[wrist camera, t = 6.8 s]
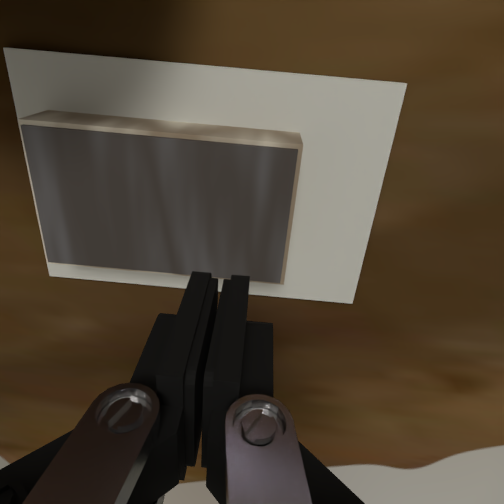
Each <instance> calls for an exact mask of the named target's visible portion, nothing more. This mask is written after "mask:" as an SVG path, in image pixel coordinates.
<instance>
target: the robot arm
mask: <svg viewBox="0 0 504 504" xmlns="http://www.w3.org/2000/svg"><path fill="white" fill-rule="evenodd" d="M249 283H250V276H242V275H231V279H224V280H223V285H222V290H221V295H220V299H219V304H218V309H217V302H218V278H212V274H211V273H209V272H197V271H192V273H191V276H190V279H189V282H188V284H187V287H186V290H185V293H184V296H183V299H182V302H181V304H180V307H179V310H178V313H177V315H174V314H163V313H160V314H159V315H158V317H157V319H156V321H155V324H154V326H153V328H152V331H151V333H150V335H149V338H148V340H147V343H146V345H145V347H144V350H143V352H142V355H141V357H140V359H139V362H138V364H137V366H136V369H135V371H134V374H133V376H132V378H131V381H130V383H125V384H119V385H116V386H114V387H111V388H109V389H107V390H106V391H104V392H103V393H101V394H100V395H99V396H98V397H97V398H96V399H95V400H94V401H93V402H92V404H91V405H90V407H89V408H88V410H87V411H86V413H85V414H84V415H83V417H82V418H81V420H80V421H79V423H78V424H77V425H76V427H75V428H74V430H72V431H70V432H68V433H66V434H65V435H63V436H61V437H59V438H57V439H56V440H54V441H52V442H50V443H48V444H46V445H45V446H43V447H41V448H39V449H37V450H35V451H34V452H32V453H30V454H28V455H26V456H24V457H23V458H21V459H19V460H17V461H15V462H13V463H12V464H10V465H8V466H6V467H4V468H2V469H1V470H0V504H163V500H164V496H165V493H167V492H168V491H170V490H171V489H172V488H173V487H175V486H176V485H177V484H178V483H179V480H184V478H185V474H186V469H187V466H195V464H196V459H197V453H198V448H199V442H200V437H201V431H202V461H201V467H205V468H207V476H206V487H207V488H208V489H209V491H210V492H211V493H212V494H213V496H214V497H215V498H216V500H217V501H218V502H219V504H364V502H362V501H361V500H360V499H359V498H358V497H357V496H356V495H355V494H354V493H353V492H352V491H351V490H350V489H349V488H347V486H345V485H344V484H343V483H342V482H341V481H340V480H339V479H338V478H337V477H336V476H335V475H334V474H333V473H332V472H330V470H329V469H327V468H326V467H325V466H324V465H323V464H322V463H321V462H320V461H319V460H318V459H317V458H316V457H315V456H314V455H313V454H312V453H311V452H309V451H308V450H307V449H306V448H305V447H304V446H303V445H302V444H301V443H300V442H299V441H298V439H297V435H296V430H295V426H294V421H293V419H292V416H291V414H290V411H289V410H288V409H287V408H286V407H285V405H284V404H283V403H281V402H280V401H278V400H277V399H275V398H273V323H265V322H253V321H246V317H247V306H248V294H249Z"/></svg>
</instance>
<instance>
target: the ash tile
mask: <svg viewBox="0 0 504 504" xmlns="http://www.w3.org/2000/svg"><path fill="white" fill-rule="evenodd" d="M17 120H18V125H19V129H20V134H21V139H22V144H23V149H24V154H25V159H26V164H27V169H28V173H29V178H30V183H31V188H32V193H33V198H34V203H35V208H36V213H37V217H38V222H39V227H40V232H41V237H42V242H43V247H44V252H45V257H46V261H47V263H50V264H61V265H72V266H83V267H94V268H105V269H116V270H127V271H138V272H149V273H160V274H171V275H182V276H191V273H192V271H197V272H209V273H211V274H212V278H218V279H231V275H242V276H250V282H258V283H269V284H280V285H284V279H285V272H286V265H287V258H288V250H289V243H290V236H291V229H292V222H293V215H294V208H295V201H296V193H297V186H298V179H299V172H300V165H301V158H302V151H303V142H302V139H301V135H300V133H299V132H288V131H277V130H266V129H255V128H244V127H232V126H221V125H210V124H199V123H188V122H177V121H166V120H155V119H143V118H132V117H121V116H110V115H99V114H88V113H77V112H66V111H54V110H46V111H43V112H39V113H36V114H33V115H29V116H26V117H22V118H19V119H17Z"/></svg>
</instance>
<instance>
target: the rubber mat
mask: <svg viewBox="0 0 504 504" xmlns="http://www.w3.org/2000/svg"><path fill="white" fill-rule="evenodd" d="M3 50H4V55H5V60H6V65H7V70H8V74H9V79H10V84H11V89H12V94H13V99H14V104H15V109H16V114H17V119H19V118H22V117H26V116H29V115H33V114H36V113H39V112H43V111H46V110H54V111H66V112H77V113H88V114H99V115H110V116H121V117H132V118H143V119H155V120H166V121H177V122H188V123H199V124H210V125H221V126H232V127H244V128H255V129H266V130H277V131H288V132H299V133H300V135H301V139H302V142H303V151H302V158H301V165H300V172H299V179H298V186H297V193H296V201H295V208H294V215H293V222H292V229H291V236H290V243H289V250H288V258H287V265H286V272H285V279H284V285H280V284H269V283H258V282H250V283H249V294H252V295H263V296H274V297H285V298H296V299H307V300H318V301H328V302H339V303H350V304H352V303H353V299H354V295H355V291H356V287H357V283H358V279H359V275H360V271H361V267H362V263H363V259H364V255H365V251H366V247H367V243H368V239H369V235H370V231H371V227H372V223H373V219H374V215H375V211H376V207H377V203H378V199H379V195H380V191H381V187H382V183H383V179H384V175H385V171H386V167H387V163H388V159H389V155H390V151H391V147H392V143H393V139H394V135H395V131H396V126H397V122H398V118H399V114H400V110H401V106H402V102H403V98H404V94H405V90H406V86H407V84H406V83H400V82H389V81H378V80H366V79H355V78H344V77H333V76H322V75H310V74H299V73H288V72H277V71H266V70H254V69H243V68H232V67H221V66H210V65H198V64H187V63H176V62H165V61H154V60H142V59H131V58H120V57H109V56H98V55H86V54H75V53H64V52H53V51H42V50H30V49H19V48H3ZM47 265H48V270H49V275H50V276H55V277H66V278H77V279H88V280H99V281H110V282H121V283H132V284H143V285H154V286H165V287H176V288H186V287H187V284H188V282H189V279H190V276H182V275H171V274H160V273H149V272H138V271H127V270H116V269H105V268H94V267H83V266H72V265H61V264H50V263H47ZM223 280H224V279H218V291H219V292H221V290H222V285H223Z"/></svg>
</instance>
